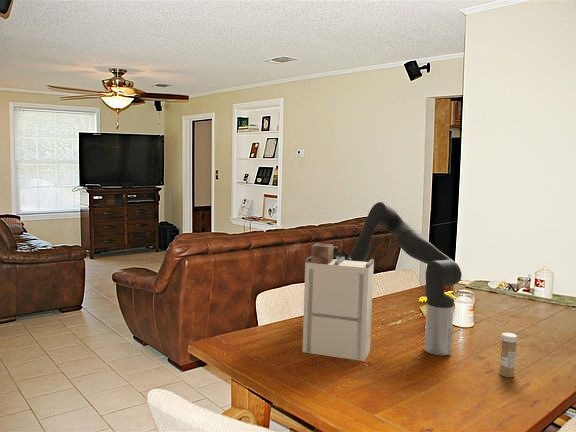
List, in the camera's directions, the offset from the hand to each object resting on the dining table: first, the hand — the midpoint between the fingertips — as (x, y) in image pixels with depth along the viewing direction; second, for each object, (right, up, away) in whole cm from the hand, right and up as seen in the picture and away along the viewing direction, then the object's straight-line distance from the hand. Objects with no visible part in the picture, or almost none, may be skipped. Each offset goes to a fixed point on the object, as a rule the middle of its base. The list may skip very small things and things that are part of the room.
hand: (329, 249), depth 189 cm
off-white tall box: (+2, -36, -7) cm, 37 cm away
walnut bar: (-1, -3, -3) cm, 5 cm away
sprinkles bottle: (+55, -39, -24) cm, 72 cm away
